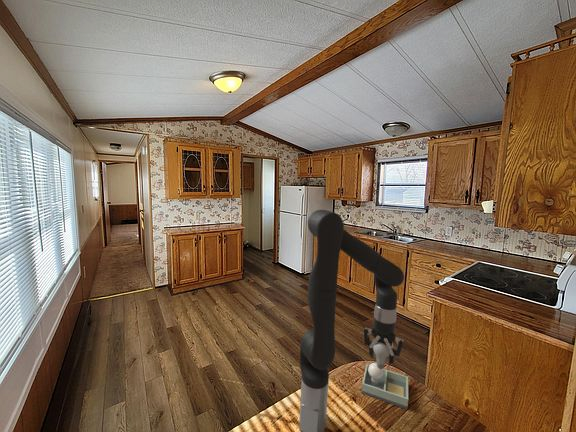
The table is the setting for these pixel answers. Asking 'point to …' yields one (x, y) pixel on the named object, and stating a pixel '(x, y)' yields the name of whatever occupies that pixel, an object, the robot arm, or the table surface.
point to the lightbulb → (381, 354)
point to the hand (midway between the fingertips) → (381, 359)
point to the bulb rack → (385, 385)
